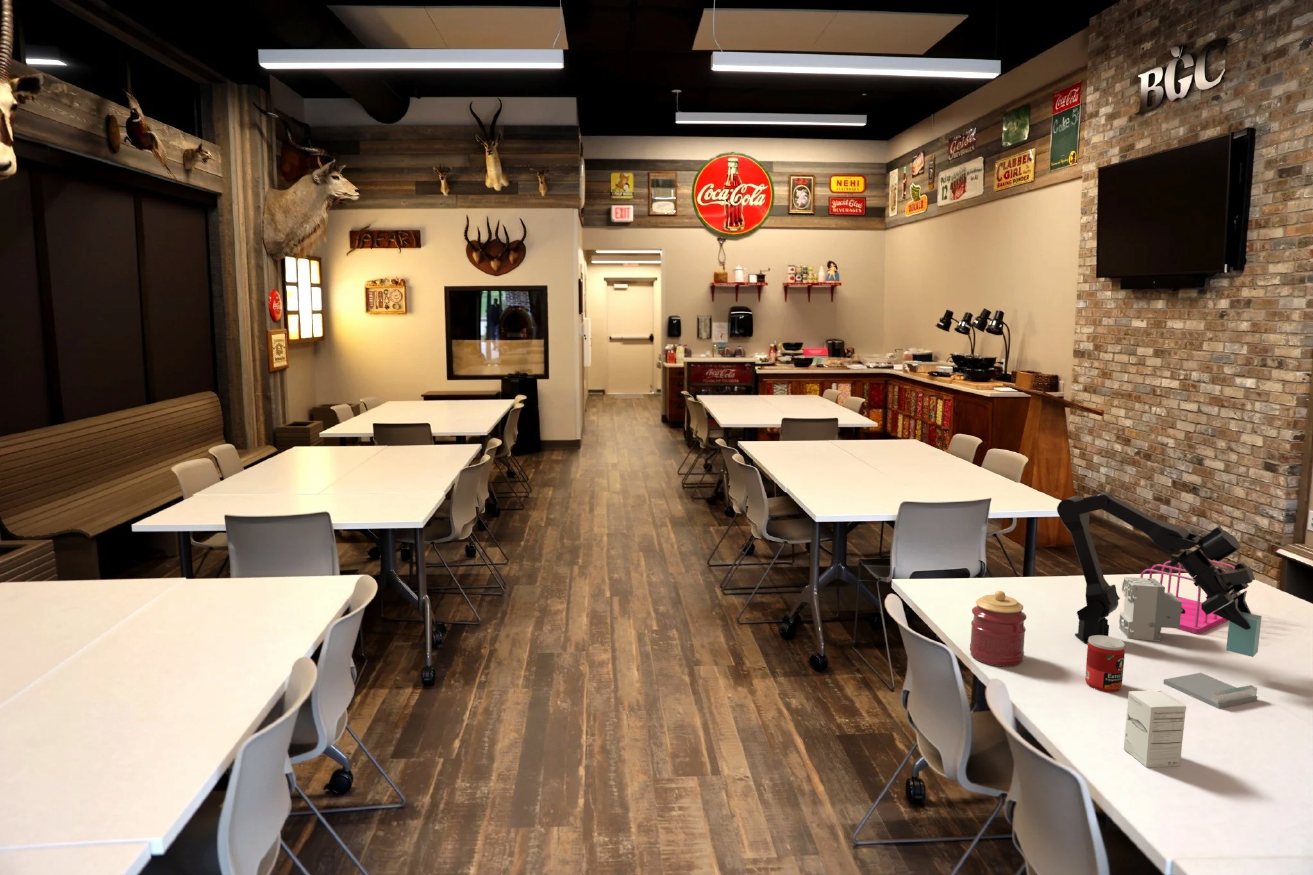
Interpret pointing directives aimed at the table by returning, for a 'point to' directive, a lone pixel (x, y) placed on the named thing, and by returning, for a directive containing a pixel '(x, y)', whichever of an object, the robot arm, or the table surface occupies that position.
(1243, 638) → the block
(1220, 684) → the plate
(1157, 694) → the supplement box
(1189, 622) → the file sorter
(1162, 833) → the table surface
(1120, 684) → the canned food
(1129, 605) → the circuit breaker
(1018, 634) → the canister
